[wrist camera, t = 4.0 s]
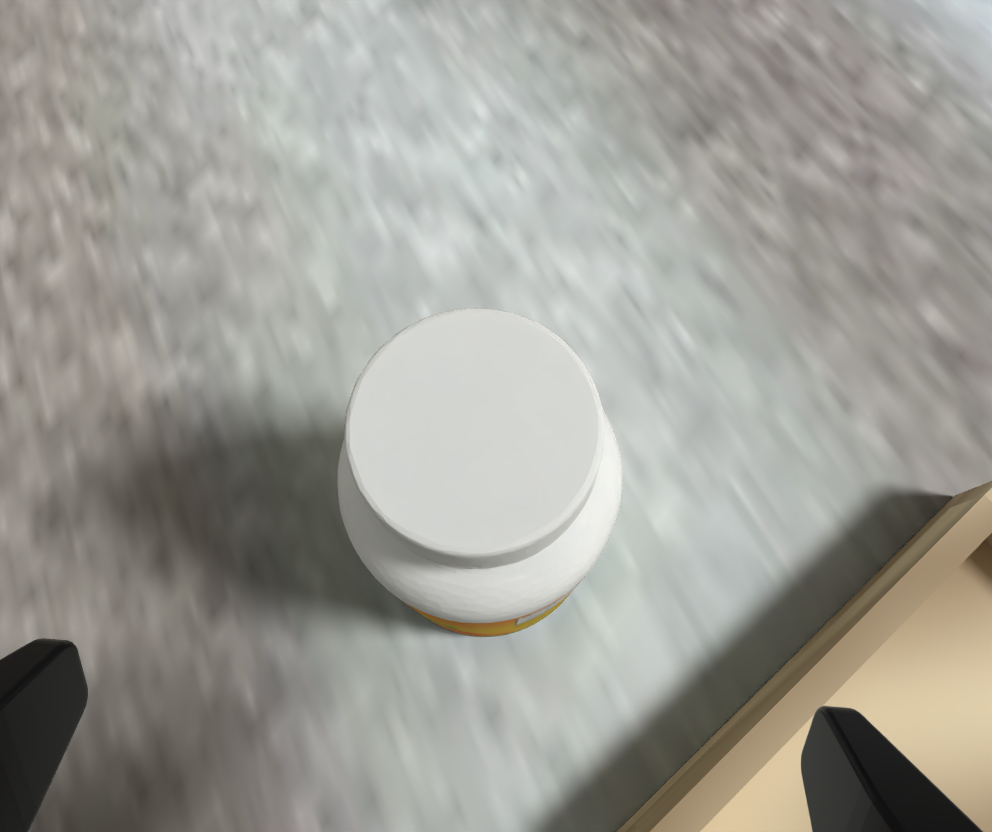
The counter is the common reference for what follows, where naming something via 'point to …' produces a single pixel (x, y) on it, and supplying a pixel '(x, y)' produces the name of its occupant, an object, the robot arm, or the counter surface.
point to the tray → (865, 690)
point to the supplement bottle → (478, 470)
